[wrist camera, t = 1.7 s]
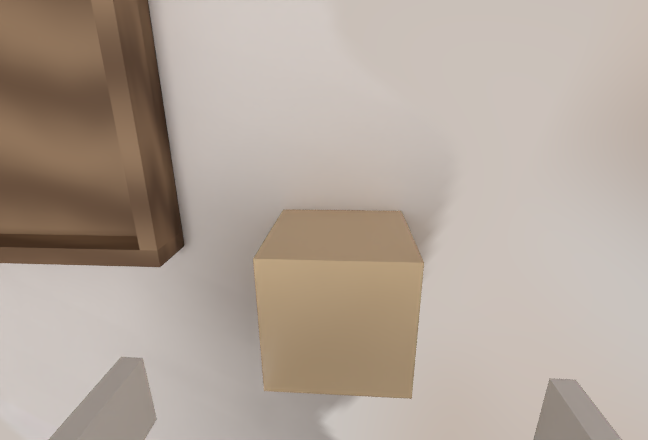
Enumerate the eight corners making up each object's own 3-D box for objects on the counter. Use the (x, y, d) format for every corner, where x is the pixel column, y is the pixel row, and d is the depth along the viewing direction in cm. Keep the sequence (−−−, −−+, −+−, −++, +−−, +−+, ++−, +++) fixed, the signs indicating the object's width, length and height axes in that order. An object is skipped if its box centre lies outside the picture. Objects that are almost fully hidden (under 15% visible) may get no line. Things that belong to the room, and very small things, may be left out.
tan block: (394, 312, 23) (411, 398, 16) (288, 309, 24) (264, 391, 17) (401, 210, 21) (424, 262, 14) (283, 209, 21) (253, 258, 15)
